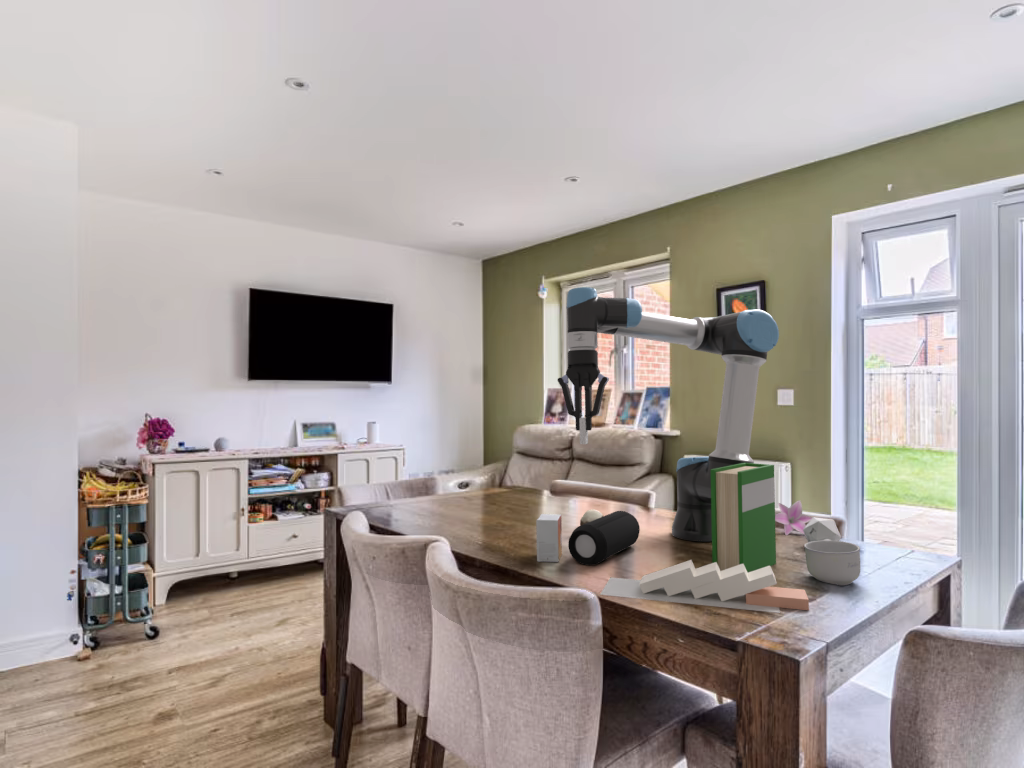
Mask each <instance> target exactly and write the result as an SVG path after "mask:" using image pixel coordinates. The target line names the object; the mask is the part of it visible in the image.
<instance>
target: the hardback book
mask: <svg viewBox="0 0 1024 768" xmlns="http://www.w3.org/2000/svg"><path fill="white" fill-rule="evenodd" d="M775 491H776V490H775V464H767V463H755V462H754V463H740V464H735V465H730V466H725V467H720V468H715V469H711V517H712V541H711V557H712V559H711V563H714V562H717V564H718V566H719V569H720V571H722V570H725V569H728V568H731V567H734V566H737V565H740V564H744V566H745V568H746V570H747V572H751V571H754V570H757V569H760V568H763V567H766V566H769V565H770V567H771V568H772V566H774V565H776V564H777V544H776V543H777V542H776V540H777V538H776V534H777V533H776V521H775V514H776V500H775V499H776V497H775V496H776V495H775V494H776V493H775Z"/></svg>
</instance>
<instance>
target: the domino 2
mask: <svg viewBox="0 0 1024 768" xmlns="http://www.w3.org/2000/svg"><path fill="white" fill-rule="evenodd" d="M720 574H721V571H720V569H719V566H718V564H717V562H714V563H712V562H711V563H708V564H705V565H703V566H700V567H695V575H694V577H693V578H690V579H687V580H684V581H681V582H678V583H674V584H671V585H668V586H665V587H664V588H665V590H666V593H667V595H668V596H671V595H674V594H677V593H680V592H683V591H687V590H690V589H693V588H696V587H699V586H702V585H705V584H708V583H712V582H715V581H718V580H720Z"/></svg>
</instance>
